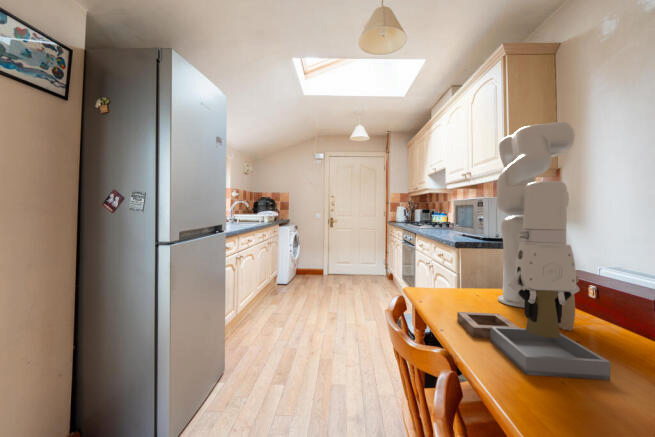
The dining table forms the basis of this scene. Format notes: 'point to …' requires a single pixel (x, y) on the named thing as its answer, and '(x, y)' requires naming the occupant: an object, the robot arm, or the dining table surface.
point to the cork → (545, 316)
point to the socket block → (483, 331)
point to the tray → (549, 354)
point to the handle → (568, 313)
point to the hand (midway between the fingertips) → (542, 319)
